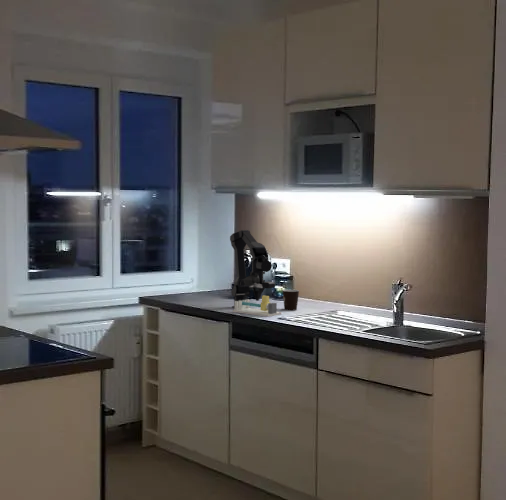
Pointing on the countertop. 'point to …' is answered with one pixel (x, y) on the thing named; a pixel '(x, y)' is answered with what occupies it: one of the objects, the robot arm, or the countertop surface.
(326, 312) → the countertop surface
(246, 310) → the cable comb
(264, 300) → the sleeve
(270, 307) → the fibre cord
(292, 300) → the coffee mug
